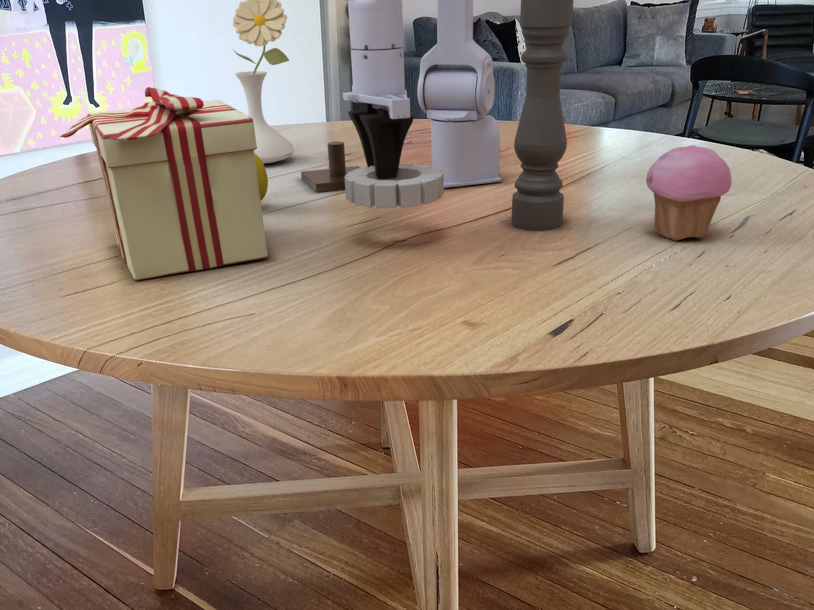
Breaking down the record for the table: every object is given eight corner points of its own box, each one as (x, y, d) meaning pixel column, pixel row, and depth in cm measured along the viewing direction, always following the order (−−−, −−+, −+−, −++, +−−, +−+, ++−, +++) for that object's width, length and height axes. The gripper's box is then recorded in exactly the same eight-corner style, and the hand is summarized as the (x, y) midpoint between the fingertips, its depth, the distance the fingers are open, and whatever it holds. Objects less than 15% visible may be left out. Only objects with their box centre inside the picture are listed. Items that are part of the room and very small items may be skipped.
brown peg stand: (358, 173, 127) (356, 135, 125) (376, 185, 120) (374, 145, 117) (301, 179, 125) (298, 140, 122) (316, 192, 117) (313, 151, 114)
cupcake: (697, 223, 98) (709, 136, 94) (737, 244, 91) (752, 150, 86) (627, 229, 97) (636, 141, 92) (663, 251, 89) (674, 156, 84)
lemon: (262, 216, 107) (254, 152, 103) (222, 214, 108) (213, 151, 104) (276, 205, 111) (270, 144, 108) (238, 204, 112) (230, 143, 109)
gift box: (79, 251, 95) (44, 92, 87) (234, 226, 103) (215, 78, 94) (110, 294, 82) (71, 111, 73) (284, 261, 89) (267, 93, 81)
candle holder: (566, 217, 102) (580, -9, 90) (557, 231, 97) (571, -7, 85) (517, 214, 104) (525, -8, 92) (505, 228, 99) (512, -6, 87)
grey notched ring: (422, 180, 99) (422, 160, 98) (457, 201, 90) (457, 178, 89) (335, 190, 96) (334, 169, 95) (363, 212, 87) (361, 189, 86)
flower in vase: (212, 167, 134) (188, -4, 123) (249, 153, 144) (231, -7, 132) (282, 171, 130) (264, -6, 118) (316, 157, 139) (303, -9, 127)
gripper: (324, 45, 94) (332, 166, 100) (361, 55, 82) (368, 192, 88) (382, 41, 96) (387, 161, 102) (427, 51, 84) (430, 185, 90)
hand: (382, 175), depth 96 cm, fingers closed on grey notched ring, 2 cm apart
